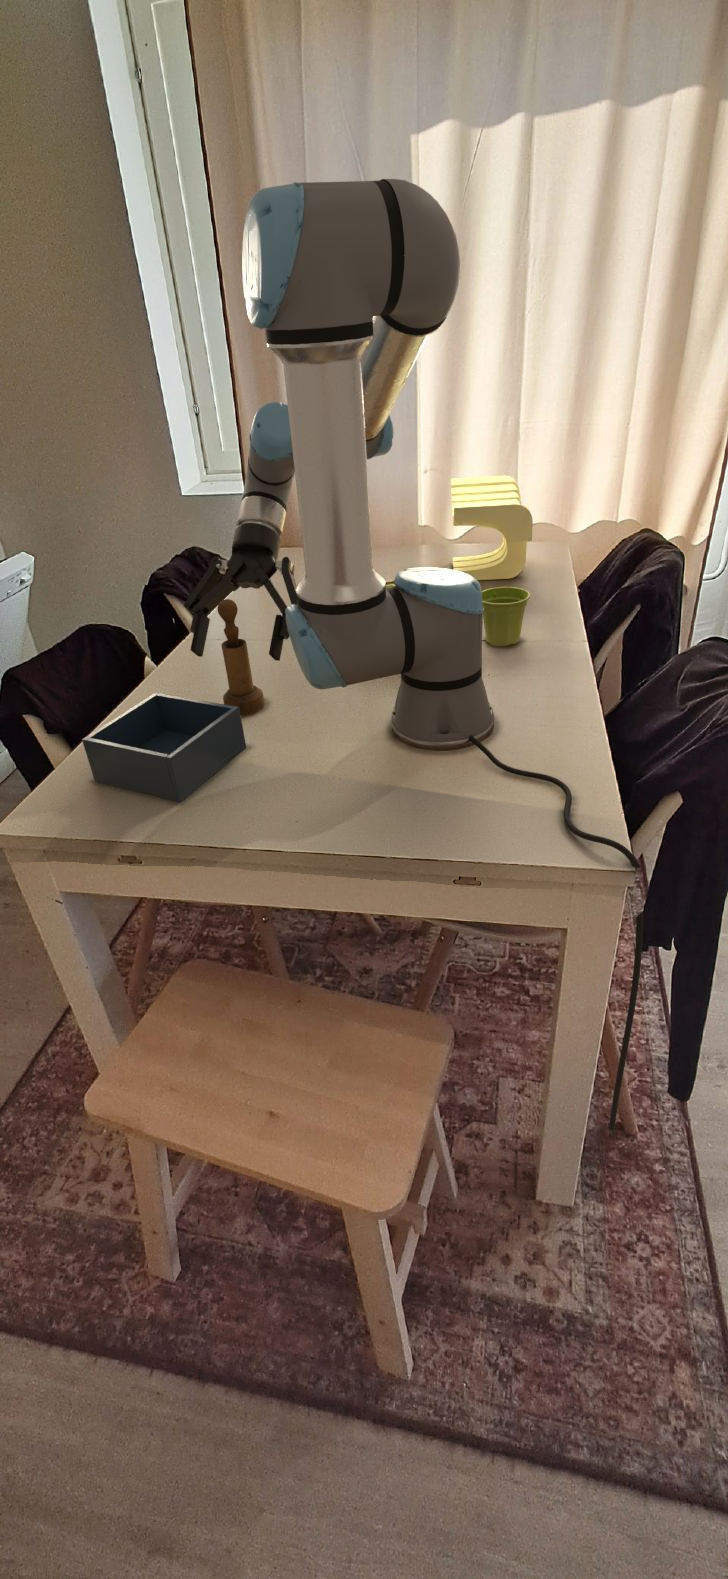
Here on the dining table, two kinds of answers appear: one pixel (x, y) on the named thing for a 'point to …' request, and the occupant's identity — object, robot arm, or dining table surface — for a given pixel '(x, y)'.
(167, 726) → the tub
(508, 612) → the plant pot
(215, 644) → the dining table surface
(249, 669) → the mortar and pestle
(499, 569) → the slatted curved stool
